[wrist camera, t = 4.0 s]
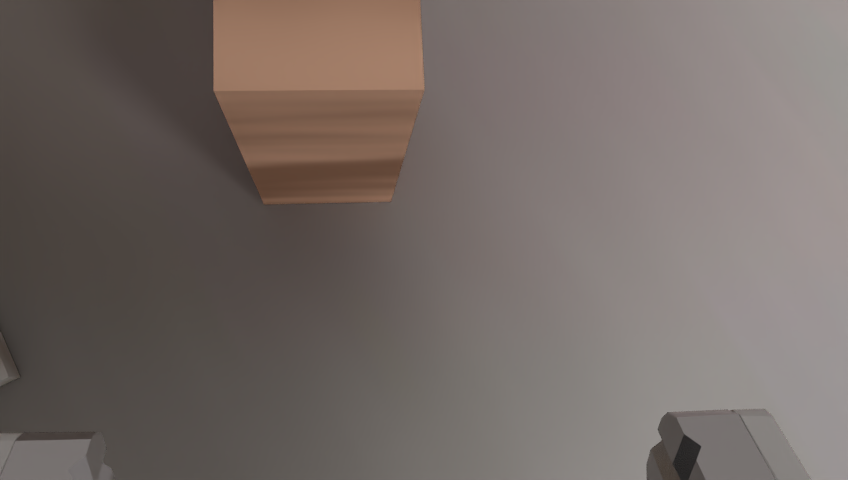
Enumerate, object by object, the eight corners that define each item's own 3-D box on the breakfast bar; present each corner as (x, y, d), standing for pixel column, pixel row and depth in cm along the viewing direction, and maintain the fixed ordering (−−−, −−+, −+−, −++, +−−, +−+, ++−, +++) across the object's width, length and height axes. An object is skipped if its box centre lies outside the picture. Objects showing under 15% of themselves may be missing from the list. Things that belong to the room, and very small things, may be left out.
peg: (390, 201, 25) (424, 90, 15) (264, 204, 24) (213, 91, 15) (386, 82, 26) (415, -99, 16) (262, 83, 25) (213, -103, 15)
